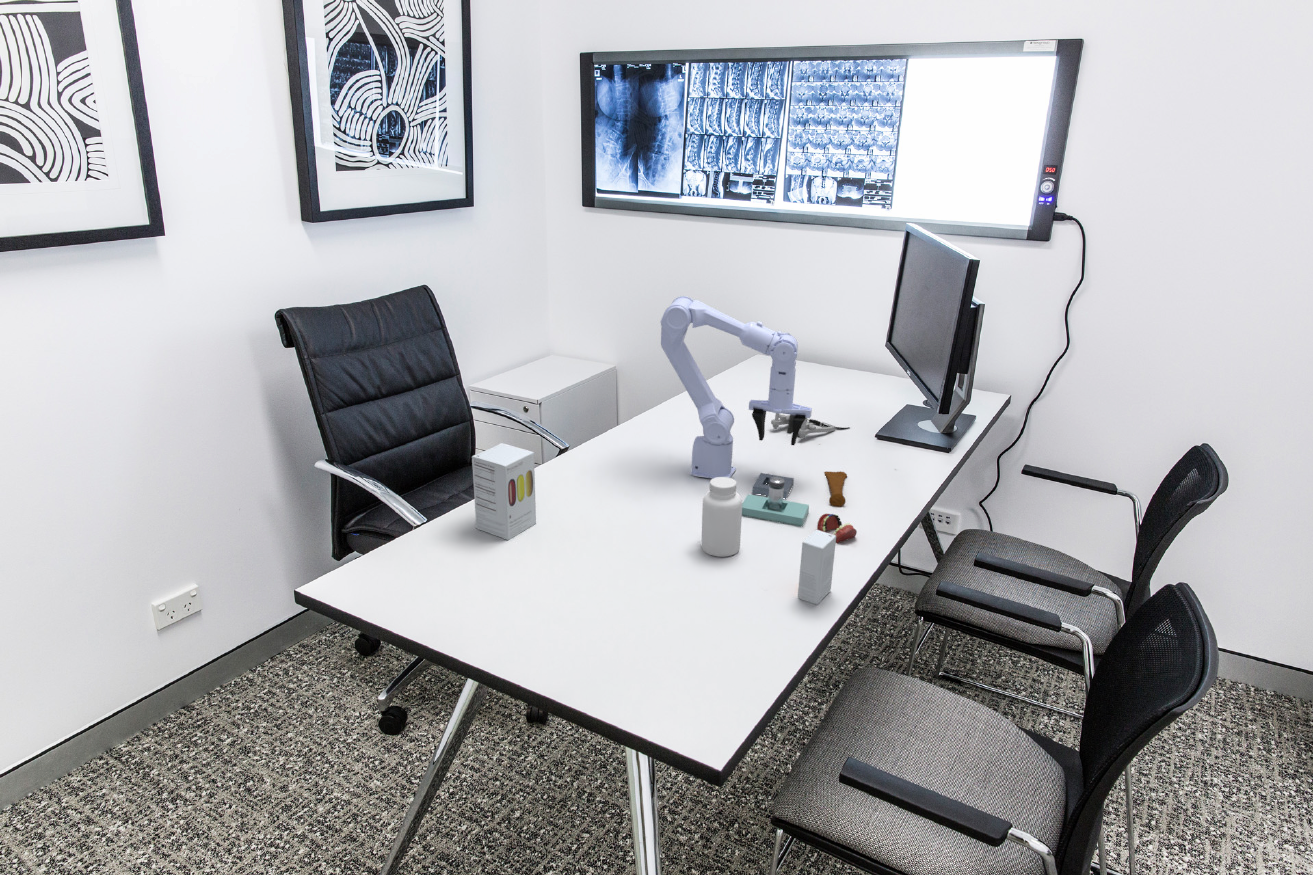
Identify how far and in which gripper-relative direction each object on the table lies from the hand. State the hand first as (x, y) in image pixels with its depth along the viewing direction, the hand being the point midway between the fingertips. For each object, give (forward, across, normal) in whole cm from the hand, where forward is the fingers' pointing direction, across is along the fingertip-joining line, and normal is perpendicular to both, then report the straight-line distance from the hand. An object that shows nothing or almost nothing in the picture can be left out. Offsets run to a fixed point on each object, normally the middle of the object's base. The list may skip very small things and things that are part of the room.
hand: (777, 441), depth 201 cm
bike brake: (+10, +2, +36) cm, 37 cm away
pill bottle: (+10, -3, -37) cm, 38 cm away
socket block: (+10, +1, -6) cm, 12 cm away
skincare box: (+10, +18, -47) cm, 52 cm away
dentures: (+10, +18, -22) cm, 31 cm away
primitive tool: (+11, +14, +1) cm, 18 cm away
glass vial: (+10, +4, -18) cm, 21 cm away
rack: (+10, +4, -18) cm, 21 cm away
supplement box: (+10, -48, -45) cm, 67 cm away
